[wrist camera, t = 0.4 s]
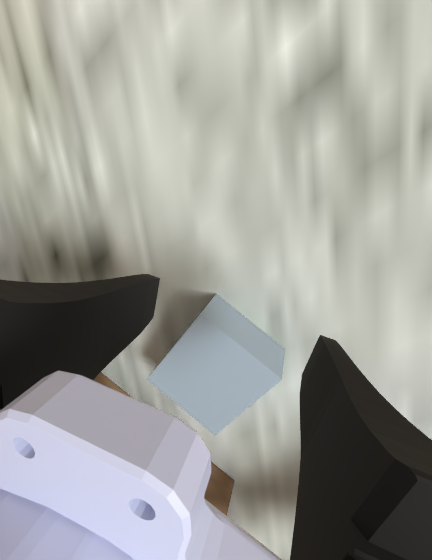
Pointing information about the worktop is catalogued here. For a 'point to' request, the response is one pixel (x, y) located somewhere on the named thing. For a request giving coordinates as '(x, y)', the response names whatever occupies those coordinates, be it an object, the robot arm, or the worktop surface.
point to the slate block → (219, 366)
